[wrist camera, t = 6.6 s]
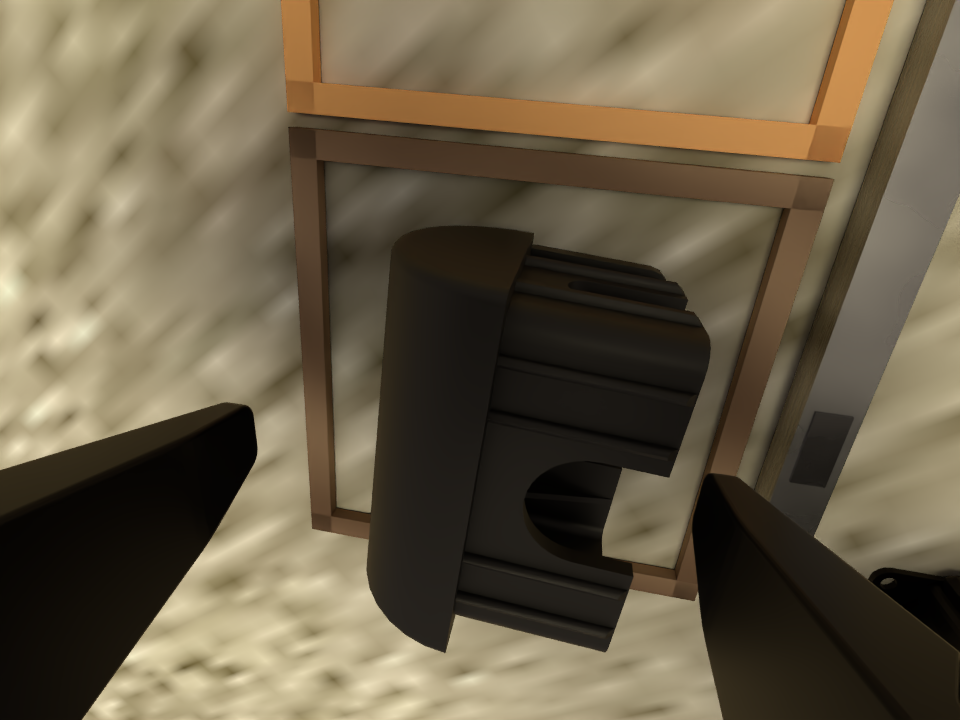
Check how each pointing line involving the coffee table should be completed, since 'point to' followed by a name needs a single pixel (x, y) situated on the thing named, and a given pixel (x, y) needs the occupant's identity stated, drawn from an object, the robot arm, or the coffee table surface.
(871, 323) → the metal rail
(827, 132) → the orange marked frame
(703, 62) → the coffee table surface
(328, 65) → the coffee table surface
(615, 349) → the end cap
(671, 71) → the coffee table surface
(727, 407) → the walnut seat frame
